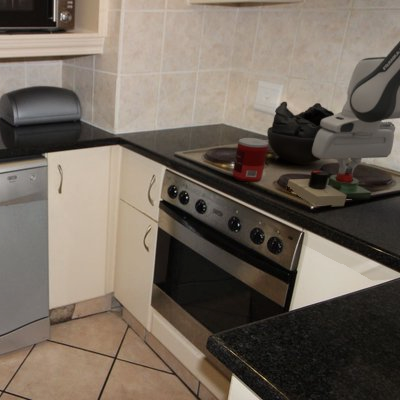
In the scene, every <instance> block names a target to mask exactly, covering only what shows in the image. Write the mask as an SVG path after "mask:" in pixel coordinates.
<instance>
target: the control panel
mask: <svg viewBox="0 0 400 400" xmlns="http://www.w3.org/2000/svg"><path fill="white" fill-rule="evenodd" d="M309 179H310V178H296V179H295V178H294V179H288V182H287V185H286V187H287V186H288V187H290V189H292V190H293V191H294V193H296V194H297V195H298V196H299V197H301V198H303V199H305V200H307V201H309V202H311V203H313V204H315V205H332V206H331V207H344V206H345V203H346V201H345V200H346V196H347V195H345V194H344V193H342V192H340V191H338V190H336V189H334V188H332V186H329V185H327V184H326V188H325V189H322V190H320V189H314V188H311V187H309V186H308V183H309ZM299 197H298V198H299ZM301 198H300V199H301Z"/></svg>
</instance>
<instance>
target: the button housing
mask: <svg viewBox="0 0 400 400" xmlns="http://www.w3.org/2000/svg"><path fill="white" fill-rule="evenodd" d="M336 178H337V174H332V175H329V177H328V180H327V185H329V186H332V188H334V189H336V190H338V191H340V192H342V193H344V194H345V195H347V196H346V199H352V200H356V201H369V200H370V199H371V195H372V191H370V190H368V189H367V188H364V187H362V186H360V185H359V183H360V181H359V179H357V178H355V177H353V179H352V182H346V181H341V180H338V179H336Z"/></svg>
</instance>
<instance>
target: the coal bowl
mask: <svg viewBox="0 0 400 400" xmlns="http://www.w3.org/2000/svg"><path fill="white" fill-rule="evenodd" d="M274 112H275V114H274V116H273V120H272V125H271V126H269V127H268V128H267V132H266V133H267V134H266V135H267V142H268V145H269V147H270V148H271V150H272V151H273V152H274V153H275V155H276V156H277V157H279V158H281V159H282V160H283V161H285V162H289V163H292V164H297V165H305V164H311V163H315V162H318V161H320V160H321V159H319V158H317V157H315V156H314V155H313V153H312V148H313V144H314V140H315V137H316V135H317V133H318V131H319V130H320V129H322V128H323V127H321V126H320V122H321V120H322V119H324V118H327V117H330V116H333V115H335V113H334V112H333V111H332V110H329V109H327V108H326V107H323V106H322V104H321V103H319V102H316V103H314V104H313V105H311V106H309V107H308V108H307V109H306V110H305V111H301V112H299V113H298V114H294V113H293V112H292V111H291V110H289V108H288V102H287V101H282V102H281V103H280V104H279V106H277V107H276V108H275V110H274Z"/></svg>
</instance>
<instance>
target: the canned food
mask: <svg viewBox="0 0 400 400" xmlns="http://www.w3.org/2000/svg"><path fill="white" fill-rule="evenodd" d="M268 148H269V141H268V140H265V139H261V138H257V137H255V138H254V137H243V138H240V139H238V142H237V147H236V153H235V157H234V158H235V159H234V166H233V170H232V177H233V178H234V179H235V180H238V181H241V182H245V181H248V182H247V183H255V182H259V181H261V179H262V178H263V173H264V167H265V163H266V158H267V154H268Z"/></svg>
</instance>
